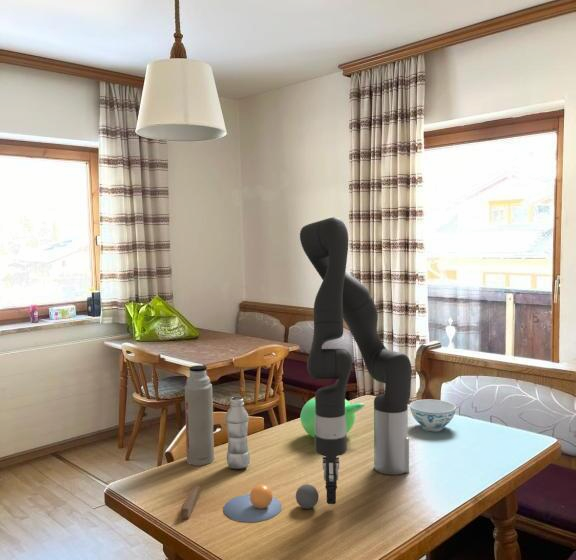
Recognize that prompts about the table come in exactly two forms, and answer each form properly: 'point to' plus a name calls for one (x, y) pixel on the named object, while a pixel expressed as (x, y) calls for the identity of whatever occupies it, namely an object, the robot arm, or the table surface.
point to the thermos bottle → (199, 417)
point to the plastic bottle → (237, 434)
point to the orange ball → (261, 496)
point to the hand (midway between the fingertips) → (331, 502)
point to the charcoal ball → (307, 496)
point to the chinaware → (432, 413)
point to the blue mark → (250, 509)
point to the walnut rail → (190, 502)
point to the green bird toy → (309, 413)
